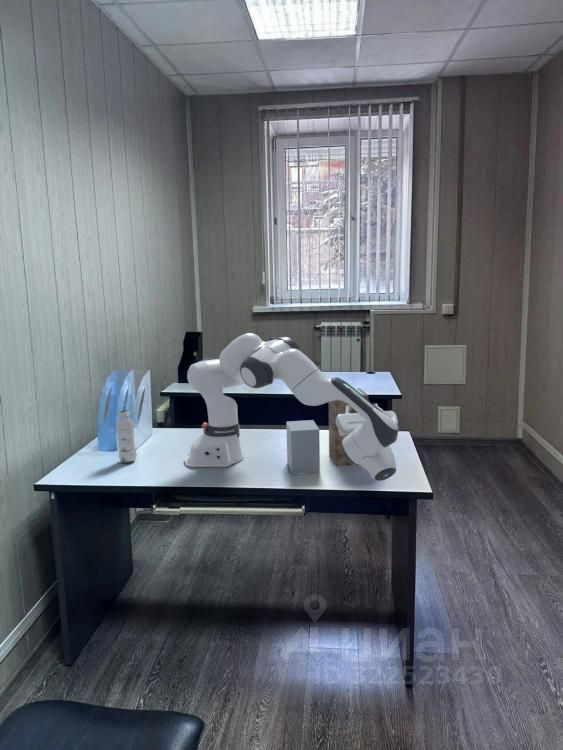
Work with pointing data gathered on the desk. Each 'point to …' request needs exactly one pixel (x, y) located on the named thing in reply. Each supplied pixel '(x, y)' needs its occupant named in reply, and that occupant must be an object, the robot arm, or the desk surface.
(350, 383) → the teal bar
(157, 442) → the desk surface
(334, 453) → the walnut pedestal
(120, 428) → the plastic bottle
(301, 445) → the slate base
